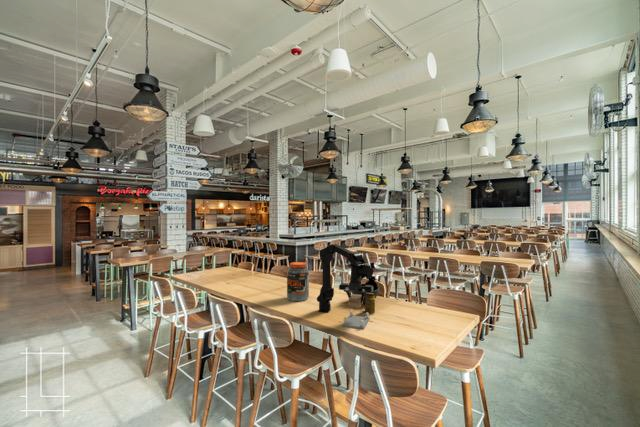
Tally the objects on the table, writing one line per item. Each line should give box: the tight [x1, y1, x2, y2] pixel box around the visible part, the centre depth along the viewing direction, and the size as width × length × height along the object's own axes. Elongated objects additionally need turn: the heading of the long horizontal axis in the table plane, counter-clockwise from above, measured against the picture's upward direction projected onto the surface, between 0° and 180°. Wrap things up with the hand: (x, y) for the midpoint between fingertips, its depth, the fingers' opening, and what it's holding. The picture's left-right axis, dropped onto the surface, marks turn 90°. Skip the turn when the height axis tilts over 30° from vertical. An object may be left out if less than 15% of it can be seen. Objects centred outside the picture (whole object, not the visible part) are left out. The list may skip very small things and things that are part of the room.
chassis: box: [342, 310, 371, 330], centre depth 168 cm, size 16×12×4 cm
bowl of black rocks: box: [351, 276, 380, 304], centre depth 208 cm, size 20×20×19 cm
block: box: [348, 294, 364, 308], centre depth 168 cm, size 10×6×4 cm, turn 161°
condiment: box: [360, 292, 378, 316], centre depth 185 cm, size 7×8×12 cm
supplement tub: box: [286, 261, 310, 302], centre depth 215 cm, size 16×16×26 cm
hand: (356, 302), depth 168 cm, fingers closed on block, 6 cm apart
